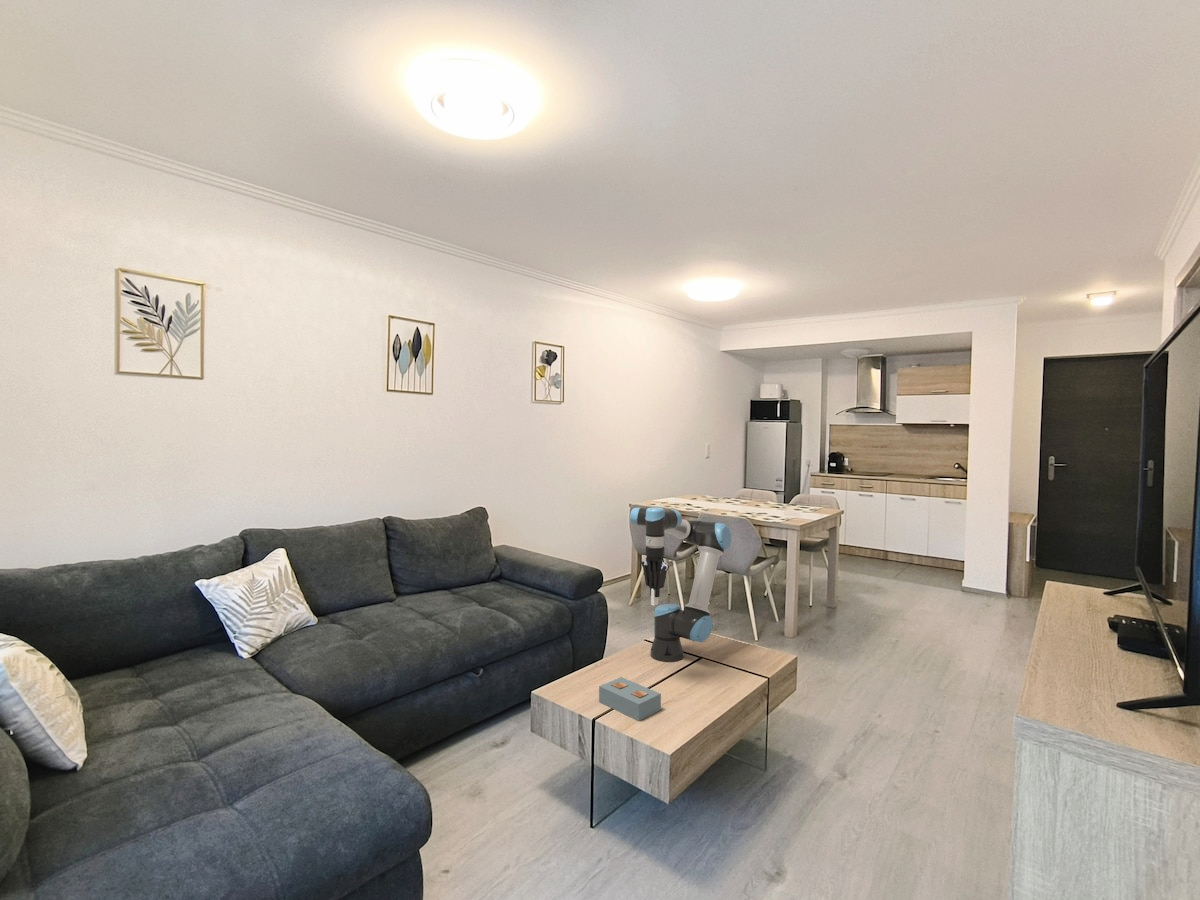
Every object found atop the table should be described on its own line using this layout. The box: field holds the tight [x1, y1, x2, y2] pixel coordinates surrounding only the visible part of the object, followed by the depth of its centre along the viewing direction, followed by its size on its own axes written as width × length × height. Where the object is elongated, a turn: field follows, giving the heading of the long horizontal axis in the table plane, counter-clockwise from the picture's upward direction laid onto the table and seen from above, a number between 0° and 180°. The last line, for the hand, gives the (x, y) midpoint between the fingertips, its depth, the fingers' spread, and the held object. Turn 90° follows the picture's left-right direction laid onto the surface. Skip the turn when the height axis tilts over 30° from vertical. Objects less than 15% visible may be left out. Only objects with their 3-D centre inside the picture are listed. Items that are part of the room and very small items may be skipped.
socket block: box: [598, 676, 662, 722], centre depth 207 cm, size 12×20×6 cm, turn 44°
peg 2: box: [632, 690, 648, 698], centre depth 204 cm, size 4×4×6 cm
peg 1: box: [612, 682, 627, 689], centre depth 211 cm, size 4×4×6 cm
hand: (654, 604), depth 226 cm, fingers closed
